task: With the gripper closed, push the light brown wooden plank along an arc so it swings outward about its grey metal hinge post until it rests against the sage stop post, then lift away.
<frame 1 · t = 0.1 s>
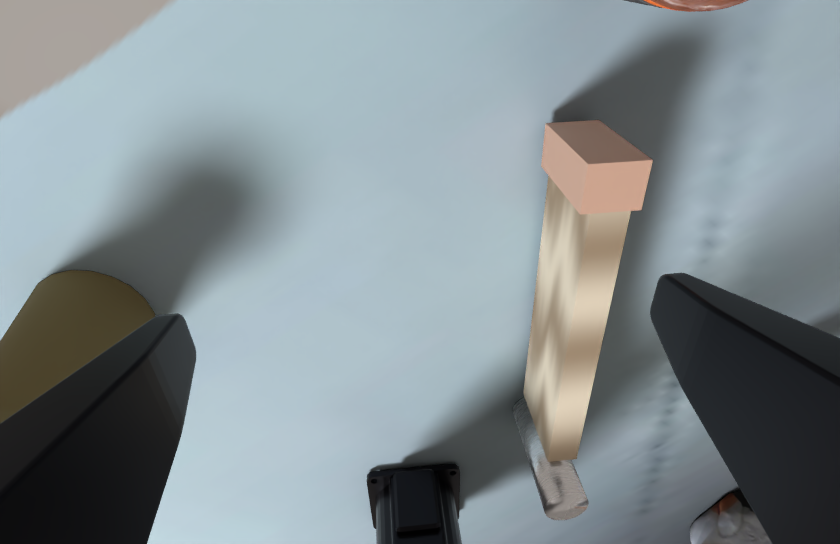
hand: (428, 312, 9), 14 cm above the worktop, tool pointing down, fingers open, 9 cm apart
gate posts: (530, 408, 33), on the worktop
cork: (97, 316, 26), on the worktop
grey lumpy mass: (734, 524, 44), on the worktop
light brown wooden plank: (566, 308, 25), point 3 cm above the worktop, hinge at 0.0°
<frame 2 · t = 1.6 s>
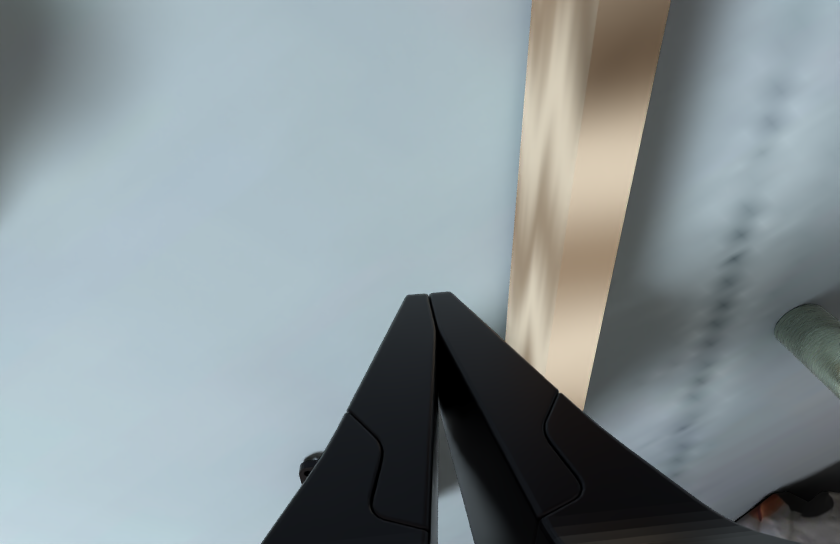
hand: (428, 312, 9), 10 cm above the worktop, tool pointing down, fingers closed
gate posts: (515, 374, 24), on the worktop
grey lumpy mass: (776, 532, 36), on the worktop
light brown wooden plank: (562, 205, 16), point 3 cm above the worktop, hinge at 0.0°
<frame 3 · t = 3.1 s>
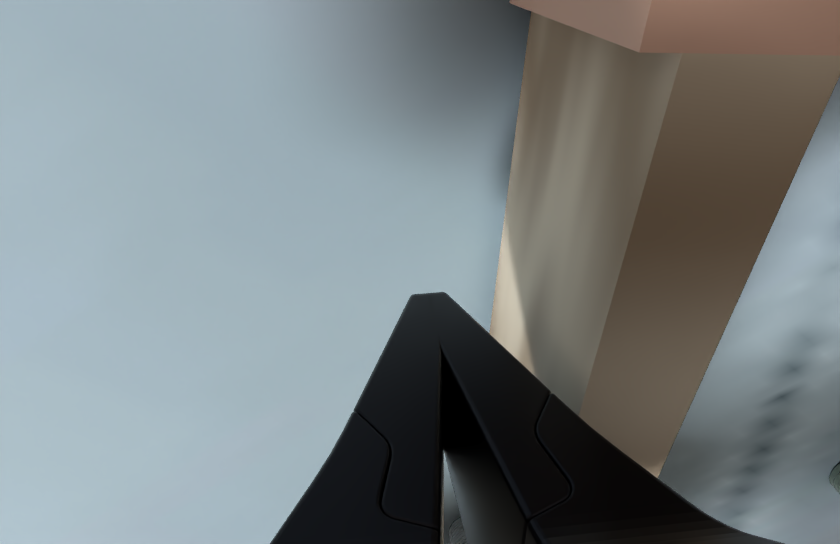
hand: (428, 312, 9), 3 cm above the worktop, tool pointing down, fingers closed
gate posts: (481, 529, 18), on the worktop
light brown wooden plank: (556, 379, 10), point 3 cm above the worktop, hinge at -3.0°, touching gripper
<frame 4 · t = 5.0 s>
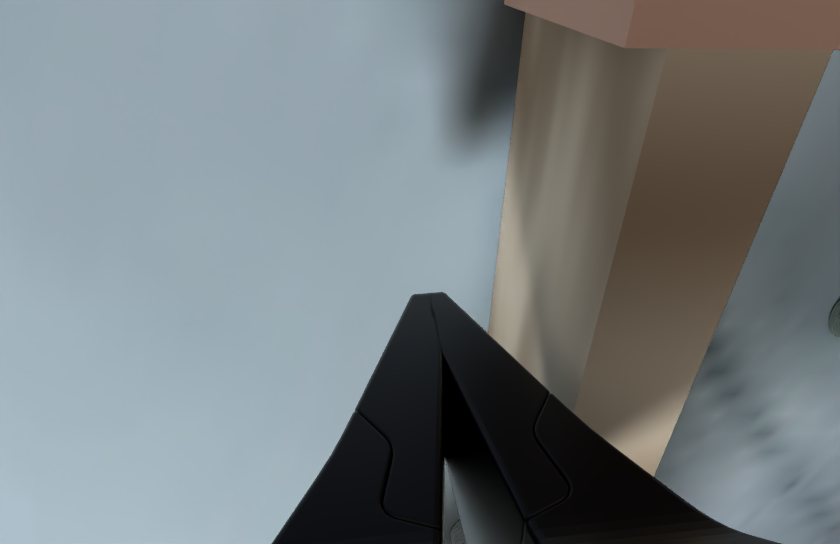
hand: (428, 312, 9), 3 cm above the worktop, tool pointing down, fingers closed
gate posts: (483, 531, 18), on the worktop
light brown wooden plank: (554, 377, 10), point 3 cm above the worktop, hinge at -37.1°, touching gripper
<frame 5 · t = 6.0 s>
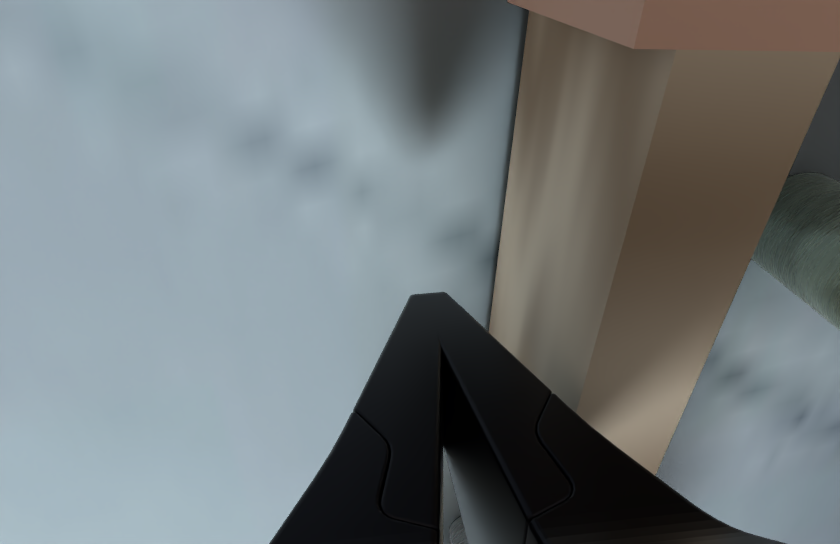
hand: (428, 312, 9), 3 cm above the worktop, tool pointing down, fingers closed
gate posts: (481, 528, 18), on the worktop
light brown wooden plank: (555, 377, 10), point 3 cm above the worktop, hinge at -56.1°, touching gripper
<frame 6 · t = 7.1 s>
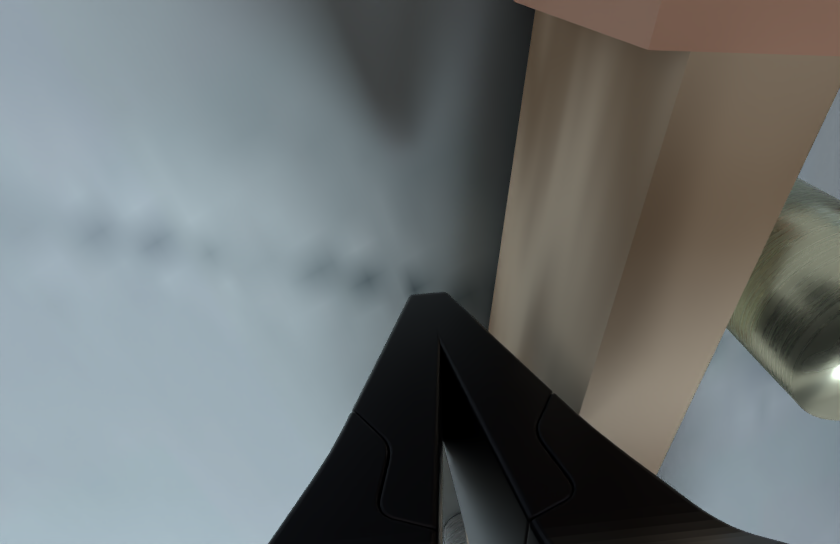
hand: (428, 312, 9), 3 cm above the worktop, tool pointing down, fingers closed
gate posts: (476, 527, 18), on the worktop
light brown wooden plank: (555, 377, 10), point 3 cm above the worktop, hinge at -72.1°, touching gripper
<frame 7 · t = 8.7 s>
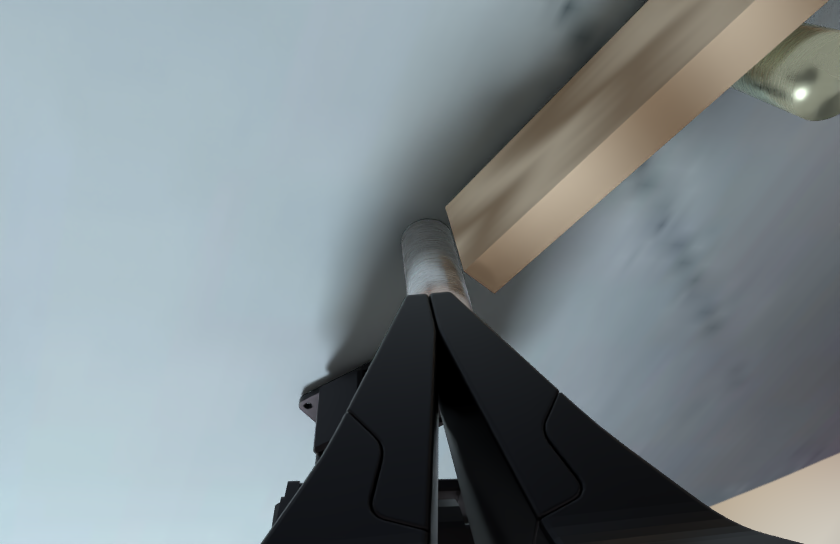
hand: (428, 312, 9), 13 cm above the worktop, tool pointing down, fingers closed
gate posts: (426, 241, 23), on the worktop
light brown wooden plank: (643, 79, 17), point 3 cm above the worktop, hinge at -72.2°
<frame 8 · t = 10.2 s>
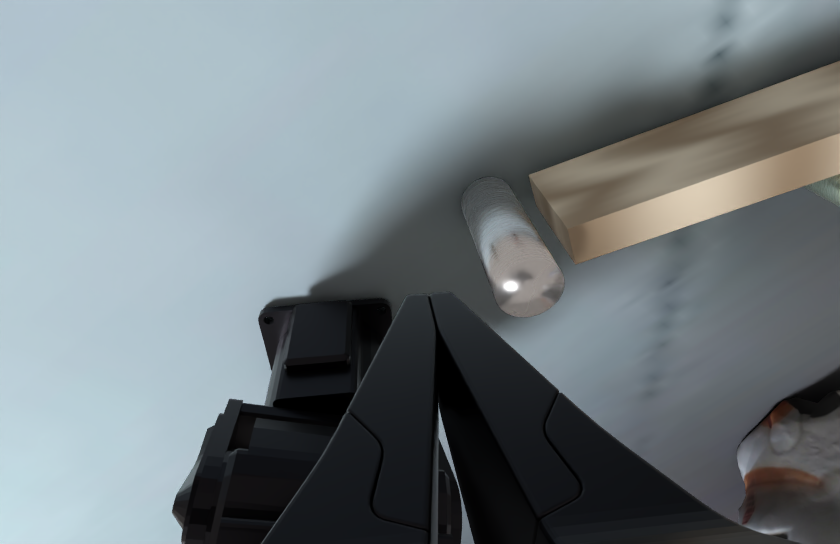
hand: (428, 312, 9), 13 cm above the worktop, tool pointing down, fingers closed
gate posts: (487, 201, 23), on the worktop
grey lumpy mass: (793, 445, 36), on the worktop
light brown wooden plank: (764, 139, 19), point 3 cm above the worktop, hinge at -72.2°
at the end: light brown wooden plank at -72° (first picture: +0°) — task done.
